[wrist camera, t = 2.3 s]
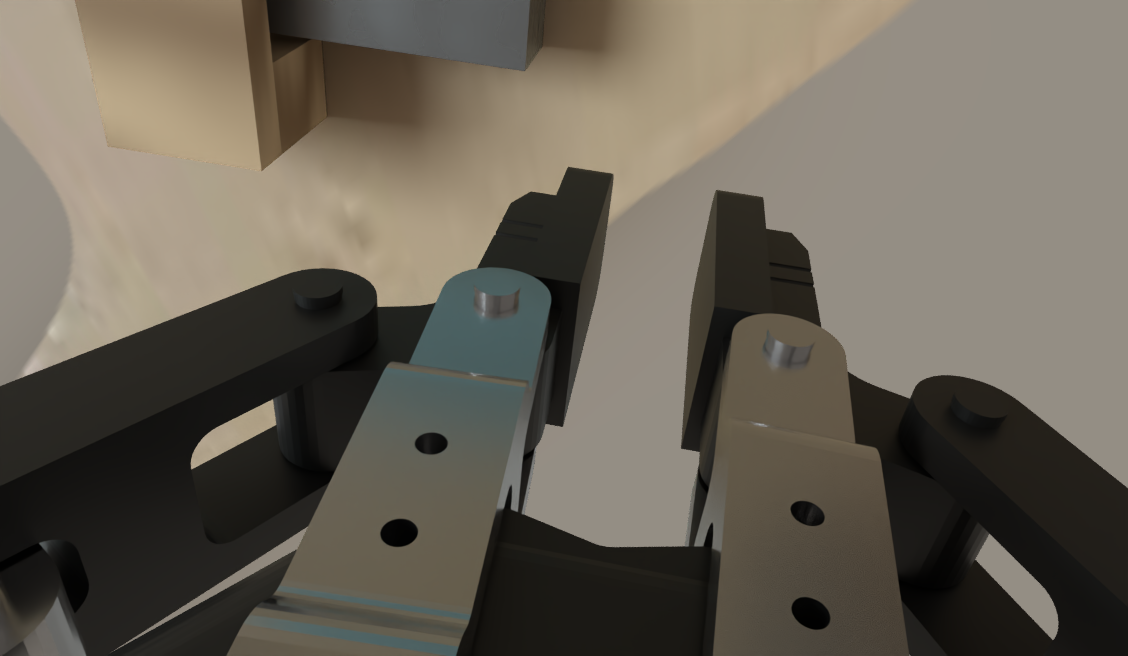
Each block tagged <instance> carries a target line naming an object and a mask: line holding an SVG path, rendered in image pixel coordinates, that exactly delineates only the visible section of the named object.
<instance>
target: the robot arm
mask: <svg viewBox="0 0 1128 656" xmlns="http://www.w3.org/2000/svg"><path fill="white" fill-rule="evenodd" d="M612 187H613V174H611V173H604V172H598V171H592V170H585V169H579V168H572V167H568V168H567V170H566V173H565V175H564V178H563V180H562V183H561V185H560V187H559V190H558V192H557V195H550V194H543V193H537V192H529V193H527V194H526V195H524V196H522V197H521V198H519V199H517V200H515V201H514V202H512V203H511V204H510V206H509V208H508V210H507V212H506V213H505V215H504V217H503V220H502V222H501V223H500V225H499V227H498V229H497V231H496V235H494V237H493V239H492V241H491V243H490V244H489V246H488V248H487V250H486V252H485V254H484V256H483V258H482V260H481V262H480V264H479V266H478V268H477V269H472V270H468V271H465V272H462V273H460V274H457V275H455V276H454V277H452V278H451V279H449V280H448V281H447V282H446V283H445V285H444V287H443V288H442V291H441V293H440V295H439V297H438V300H437V302H436V303H433V304H428V305H421V306H400V307H377V293H376V290H375V288H374V286H373V285H372V284H371V283H370V282H369V281H368V280H366V279H365V278H363V277H361V276H359V275H357V274H354V273H351V272H348V271H343V270H338V269H325V268H320V269H308V270H301V271H297V272H293V273H290V274H287V275H284V276H281V277H279V278H276V279H273V280H271V281H268V282H266V283H263V284H261V285H258V286H255V287H253V288H250V289H248V290H245V291H243V292H240V293H238V294H235V295H232V296H230V297H227V298H225V299H222V300H220V301H217V302H215V303H212V304H209V305H207V306H204V307H202V308H199V309H197V310H194V311H191V312H189V313H186V314H184V315H181V316H179V317H176V318H174V319H171V320H168V321H166V322H163V323H161V324H158V325H156V326H153V327H151V328H148V329H145V330H143V331H140V332H138V333H135V334H133V335H130V336H127V337H125V338H122V339H120V340H117V341H115V342H112V343H110V344H107V345H104V346H102V347H99V348H97V349H94V350H92V351H89V352H87V353H84V354H81V355H79V356H76V357H74V358H71V359H69V360H66V361H63V362H61V363H58V364H56V365H53V366H51V367H48V368H46V369H43V370H40V371H38V372H35V373H33V374H30V375H28V376H25V377H23V378H20V379H17V380H15V381H12V382H10V383H7V384H5V385H2V386H0V656H909V654H910V655H911V656H1128V488H1127V487H1126V486H1124V485H1123V484H1122V483H1121V482H1119V481H1118V480H1117V479H1116V478H1114V477H1113V476H1112V475H1110V474H1109V473H1108V472H1107V471H1106V470H1104V469H1103V468H1102V467H1101V466H1099V465H1098V464H1097V463H1096V462H1094V461H1093V460H1092V459H1091V458H1089V457H1088V456H1087V455H1085V454H1084V453H1083V452H1082V451H1081V450H1079V449H1078V448H1077V447H1076V446H1074V445H1073V444H1072V443H1071V442H1069V441H1068V440H1067V439H1066V438H1064V437H1063V436H1062V435H1060V434H1059V433H1058V432H1057V431H1055V430H1054V429H1053V428H1052V427H1050V426H1049V425H1048V424H1047V423H1046V422H1044V421H1043V420H1042V419H1041V418H1039V417H1038V416H1037V415H1036V414H1034V413H1033V412H1032V411H1031V410H1029V409H1028V408H1027V407H1025V406H1024V405H1023V404H1022V403H1020V402H1019V401H1018V400H1016V399H1015V398H1013V397H1012V396H1010V395H1009V394H1007V393H1005V392H1003V391H1002V390H1000V389H998V388H996V387H993V386H991V385H988V384H986V383H983V382H980V381H977V380H974V379H970V378H965V377H960V376H951V375H941V376H933V377H930V378H926V379H924V380H922V381H920V382H919V383H918V384H917V385H916V387H915V389H914V391H913V393H912V395H911V398H910V399H909V398H906V397H904V396H901V395H898V394H895V393H893V392H890V391H887V390H885V389H882V388H879V387H877V386H874V385H872V384H869V383H867V382H865V381H863V380H861V379H859V378H857V377H856V376H854V375H853V374H851V373H849V372H848V371H847V363H846V355H845V351H844V349H843V347H842V345H841V344H840V343H839V342H838V340H837V339H836V338H835V337H833V335H831V334H830V333H829V332H827V331H826V330H824V329H822V328H821V322H820V318H819V311H818V305H817V300H816V294H815V288H814V287H813V285H814V282H813V277H812V273H811V266H810V260H809V254H808V250H807V249H806V248H805V247H804V246H803V245H802V244H801V243H800V242H799V241H798V239H797V238H796V237H795V236H794V235H793V234H792V233H789V232H783V231H776V230H770V229H766V223H765V211H764V200H763V197H758V196H751V195H745V194H739V193H733V192H726V191H720V190H716V192H715V195H714V198H713V203H712V207H711V211H710V216H709V221H708V225H707V230H706V235H705V240H704V245H703V249H702V254H701V258H700V263H699V268H698V272H697V277H696V282H695V287H694V292H693V299H692V305H691V313H690V326H689V340H688V341H689V342H688V356H687V370H686V385H685V400H684V413H683V428H682V443H681V449H686V450H692V451H698V452H700V458H699V467H698V470H697V475H696V479H695V482H694V486H693V490H692V496H691V503H690V511H689V518H688V526H687V534H686V542H685V546H683V547H605V546H599V545H596V544H594V543H591V542H589V541H587V540H584V539H581V538H579V537H577V536H574V535H572V534H570V533H567V532H565V531H562V530H560V529H557V528H555V527H553V526H550V525H548V524H545V523H543V522H541V521H538V520H536V519H533V518H531V517H528V516H526V515H524V514H525V508H526V504H527V499H528V494H529V489H530V484H531V479H532V474H533V469H534V464H535V453H536V446H537V445H538V443H539V442H540V440H541V437H542V434H543V430H544V427H545V424H550V425H555V426H561V427H563V424H564V420H565V416H566V413H567V409H568V405H569V400H570V397H571V393H572V389H573V385H574V381H575V377H576V373H577V369H578V365H579V361H580V358H581V353H582V350H583V346H584V342H585V338H586V334H587V330H588V326H589V322H590V319H591V315H592V311H593V307H594V303H595V299H596V294H597V289H598V284H599V278H600V273H601V266H602V259H603V252H604V245H605V237H606V230H607V223H608V216H609V209H610V202H611V194H612ZM272 399H273V402H274V410H275V417H276V425H275V426H274V427H272V428H270V429H268V430H266V431H264V432H262V433H260V434H258V435H256V436H255V437H253V438H251V439H249V440H247V441H245V442H243V443H241V444H239V445H237V446H236V447H234V448H232V449H230V450H228V451H226V452H224V453H222V454H220V455H218V456H217V457H215V458H213V459H211V460H209V461H207V462H205V463H203V464H201V465H200V466H198V467H196V468H194V469H192V470H191V458H192V454H193V452H194V450H195V448H196V446H197V445H198V443H199V442H200V441H201V439H202V438H203V437H204V436H205V435H206V434H208V433H209V432H210V431H212V430H213V429H215V428H216V427H218V426H220V425H222V424H224V423H226V422H228V421H230V420H232V419H234V418H236V417H238V416H240V415H242V414H244V413H246V412H248V411H250V410H252V409H254V408H256V407H258V406H260V405H262V404H264V403H266V402H268V401H270V400H272ZM306 527H308V528H307V530H306V532H305V534H304V536H303V539H302V541H301V543H300V545H299V547H298V549H297V550H295V551H293V552H291V553H289V554H288V555H286V556H284V557H282V558H281V559H279V560H277V561H275V562H273V563H272V564H270V565H268V566H266V567H264V568H263V569H261V570H259V571H257V572H255V573H254V574H252V575H250V576H249V577H246V578H245V579H243V580H241V581H239V582H237V583H236V584H234V585H232V586H230V587H229V588H227V589H225V590H223V591H221V592H219V593H218V594H216V595H214V596H213V597H210V598H209V599H207V600H205V601H203V602H201V603H200V604H198V605H196V606H194V607H192V608H191V609H189V610H187V611H185V612H183V613H182V614H180V615H178V616H176V617H174V618H173V619H171V620H169V621H167V622H165V623H164V624H162V625H160V626H158V627H156V628H155V629H153V630H151V631H149V632H147V633H146V634H144V635H142V636H140V637H139V638H137V639H135V640H133V641H131V642H129V643H128V644H126V645H124V646H122V647H120V646H121V645H123V644H125V643H126V642H128V641H129V640H131V639H132V638H134V637H136V636H137V635H139V634H140V633H142V632H143V631H145V630H147V629H148V628H150V627H151V626H153V625H154V624H156V623H158V622H159V621H161V620H162V619H164V618H165V617H167V616H168V615H170V614H172V613H173V612H175V611H176V610H178V609H179V608H181V607H182V606H184V605H186V604H187V603H189V602H190V601H192V600H193V599H195V598H197V597H198V596H200V595H201V594H203V593H204V592H206V591H207V590H209V589H211V588H212V587H214V586H215V585H217V584H218V583H220V582H222V581H223V580H225V579H226V578H228V577H229V576H231V575H232V574H234V573H235V572H237V571H239V570H240V569H242V568H244V567H245V566H247V565H248V564H250V563H251V562H253V561H254V560H256V559H258V558H259V557H261V556H262V555H264V554H265V553H267V552H268V551H270V550H272V549H273V548H275V547H276V546H278V545H279V544H281V543H283V542H284V541H286V540H287V539H289V538H290V537H292V536H293V535H295V534H297V533H298V532H300V531H301V530H303V529H305V528H306ZM989 534H991V535H992V536H993V537H994V538H995V539H996V540H997V541H998V542H999V543H1000V544H1001V545H1002V546H1003V547H1004V548H1005V549H1006V550H1007V551H1008V552H1009V553H1010V554H1011V555H1012V556H1013V557H1014V558H1015V559H1016V560H1017V561H1018V562H1019V563H1020V564H1021V565H1022V566H1023V567H1024V568H1025V569H1026V570H1027V571H1028V572H1029V573H1030V574H1031V575H1032V576H1033V577H1034V578H1035V579H1036V580H1037V581H1038V582H1039V583H1040V584H1041V585H1042V586H1043V587H1044V588H1045V589H1046V591H1047V592H1048V594H1049V595H1050V597H1051V599H1052V601H1053V603H1054V605H1055V607H1056V611H1057V614H1058V621H1059V625H1058V627H1059V628H1058V632H1057V635H1056V637H1055V639H1054V640H1052V639H1051V638H1050V637H1049V636H1048V635H1047V634H1046V633H1045V632H1044V631H1043V630H1042V629H1041V628H1040V627H1039V625H1038V624H1037V623H1036V622H1035V621H1034V620H1033V619H1032V618H1031V617H1030V616H1029V615H1028V614H1027V613H1026V612H1025V611H1024V610H1023V609H1022V608H1021V607H1020V606H1019V605H1018V604H1017V603H1016V602H1015V601H1014V600H1013V598H1012V597H1011V596H1010V595H1009V594H1008V593H1007V592H1006V591H1005V590H1004V589H1003V588H1002V587H1001V586H1000V585H999V584H998V583H997V582H996V581H995V580H994V579H993V578H992V577H991V576H990V575H989V573H987V571H986V570H985V569H984V568H983V567H982V566H981V565H980V564H979V563H978V562H977V561H976V560H975V559H976V557H977V555H978V553H979V551H980V549H981V548H982V546H983V544H984V542H985V541H986V539H987V537H988V535H989ZM118 647H120V648H119V649H117V648H118ZM115 649H117V650H115ZM114 650H115V651H114ZM112 651H113V652H112ZM109 653H110V654H109ZM107 654H108V655H107Z"/></svg>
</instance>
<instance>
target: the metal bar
mask: <svg viewBox="0 0 1128 656" xmlns="http://www.w3.org/2000/svg"><path fill="white" fill-rule="evenodd" d="M266 3H267V13H268V23H269V32H270V33H275V34H282V35H288V36H295V37H302V38H308V39H315V40H322V41H328V42H335V43H342V44H348V45H355V46H361V47H368V48H375V49H381V50H388V51H395V52H401V53H408V54H415V55H421V56H428V57H434V58H441V59H448V60H454V61H461V62H468V63H474V64H481V65H488V66H494V67H501V68H508V69H514V70H521V71H525V70H526V69H527V68H528V66H529V65H530V63H531V62H532V60H533V59H534V58H535V56H536V55H537V53H538V52H539V50H540V49H541V48H542V40H543V28H544V16H545V3H546V0H266Z"/></svg>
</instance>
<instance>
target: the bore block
mask: <svg viewBox="0 0 1128 656" xmlns="http://www.w3.org/2000/svg"><path fill="white" fill-rule="evenodd" d="M75 3H76V7H77V12H78V16H79V21H80V25H81V29H82V34H83V38H84V43H85V47H86V52H87V56H88V60H89V65H90V69H91V74H92V78H93V83H94V87H95V92H96V96H97V100H98V105H99V109H100V114H101V118H102V123H103V127H104V131H105V136H106V140H107V145H108V147H114V148H120V149H127V150H133V151H139V152H145V153H152V154H158V155H164V156H170V157H176V158H183V159H189V160H195V161H201V162H208V163H214V164H220V165H226V166H232V167H239V168H245V169H251V170H257V171H262V170H264V169H265V168H266V167H267V166H268V165H270V164H271V163H272V162H273V161H274V160H276V159H277V158H278V157H279V156H280V155H282V154H283V153H284V152H285V151H286V150H288V149H289V148H290V147H291V146H292V145H294V144H295V143H296V142H297V141H299V140H300V139H301V138H302V137H303V136H305V135H306V134H307V133H308V132H309V131H311V130H312V129H313V128H314V127H315V126H317V125H318V124H319V123H320V122H321V121H323V120H324V119H325V118H326V117H327V111H326V96H325V82H324V67H323V52H322V40H315V39H308V38H302V37H295V36H288V35H282V34H275V33H270V32H269V23H268V13H267V3H266V0H75Z"/></svg>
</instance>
